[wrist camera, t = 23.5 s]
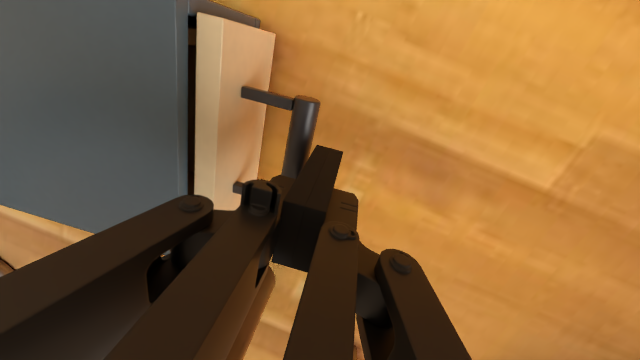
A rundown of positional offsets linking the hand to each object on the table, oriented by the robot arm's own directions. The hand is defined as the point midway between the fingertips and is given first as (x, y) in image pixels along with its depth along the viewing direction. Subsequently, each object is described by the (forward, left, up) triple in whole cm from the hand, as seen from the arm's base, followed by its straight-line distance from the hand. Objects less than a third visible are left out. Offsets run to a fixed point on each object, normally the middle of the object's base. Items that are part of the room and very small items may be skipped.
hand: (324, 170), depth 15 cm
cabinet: (-15, 0, -6) cm, 16 cm away
